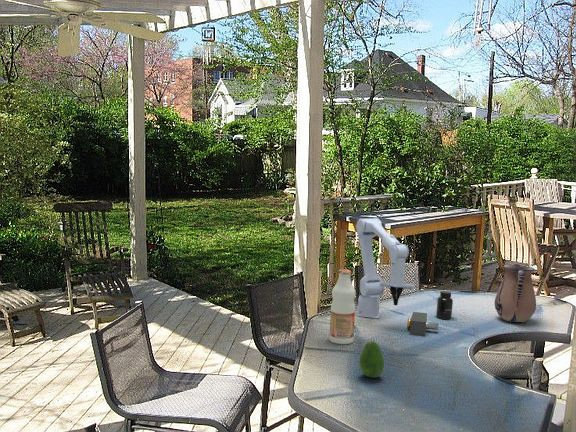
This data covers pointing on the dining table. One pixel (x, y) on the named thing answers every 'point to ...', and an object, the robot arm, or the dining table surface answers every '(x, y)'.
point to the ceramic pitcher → (516, 294)
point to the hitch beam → (418, 323)
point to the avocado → (371, 360)
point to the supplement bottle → (444, 305)
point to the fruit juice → (342, 310)
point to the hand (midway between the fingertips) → (395, 304)
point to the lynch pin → (428, 325)
